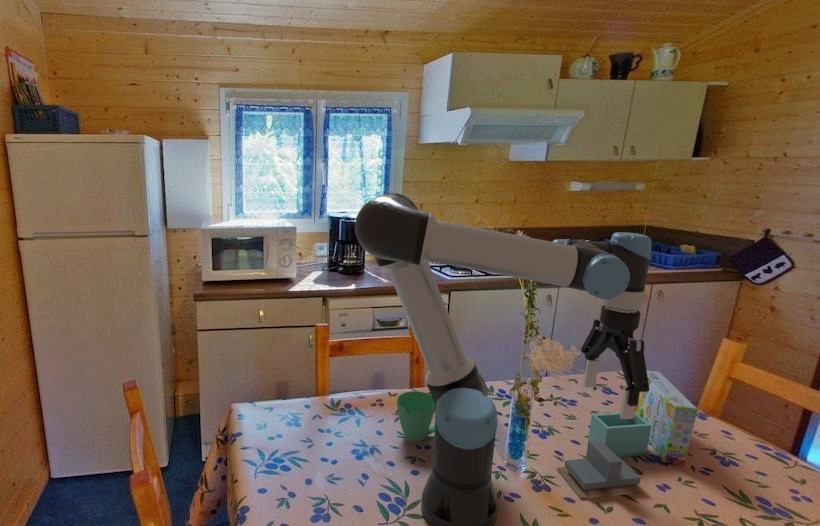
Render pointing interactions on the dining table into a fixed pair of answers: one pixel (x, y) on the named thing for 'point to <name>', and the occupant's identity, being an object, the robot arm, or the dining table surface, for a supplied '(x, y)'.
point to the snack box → (667, 418)
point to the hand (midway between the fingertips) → (606, 401)
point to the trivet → (598, 491)
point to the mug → (416, 415)
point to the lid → (601, 468)
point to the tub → (621, 433)
